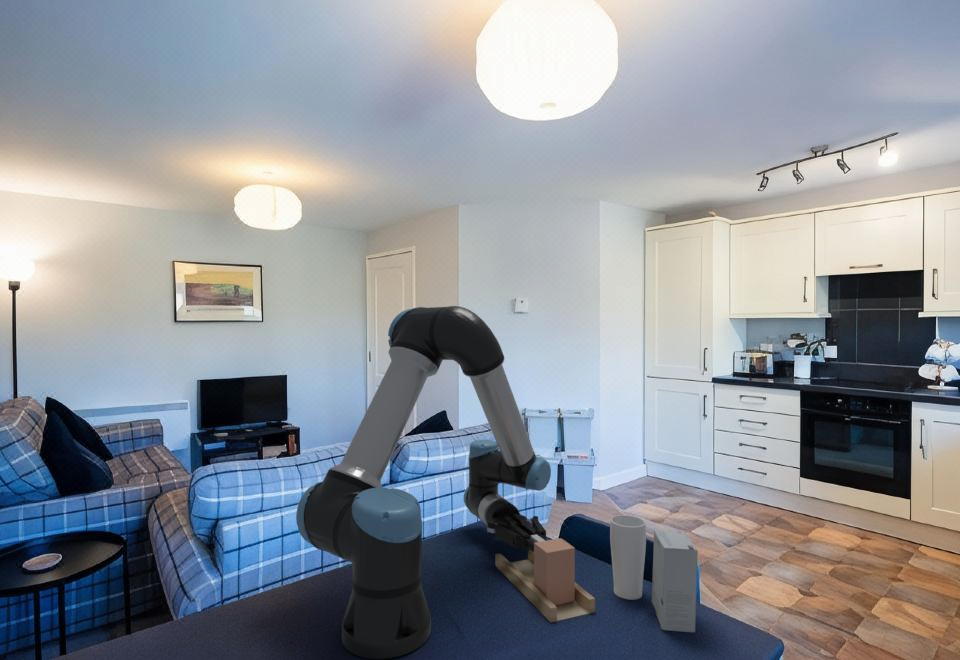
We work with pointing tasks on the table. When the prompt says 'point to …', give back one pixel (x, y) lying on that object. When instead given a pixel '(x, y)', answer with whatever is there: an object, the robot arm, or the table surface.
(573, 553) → the terracotta block
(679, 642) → the table surface
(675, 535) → the skincare box
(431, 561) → the table surface
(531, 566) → the shallow wooden tray
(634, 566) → the drinking glass
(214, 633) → the table surface
